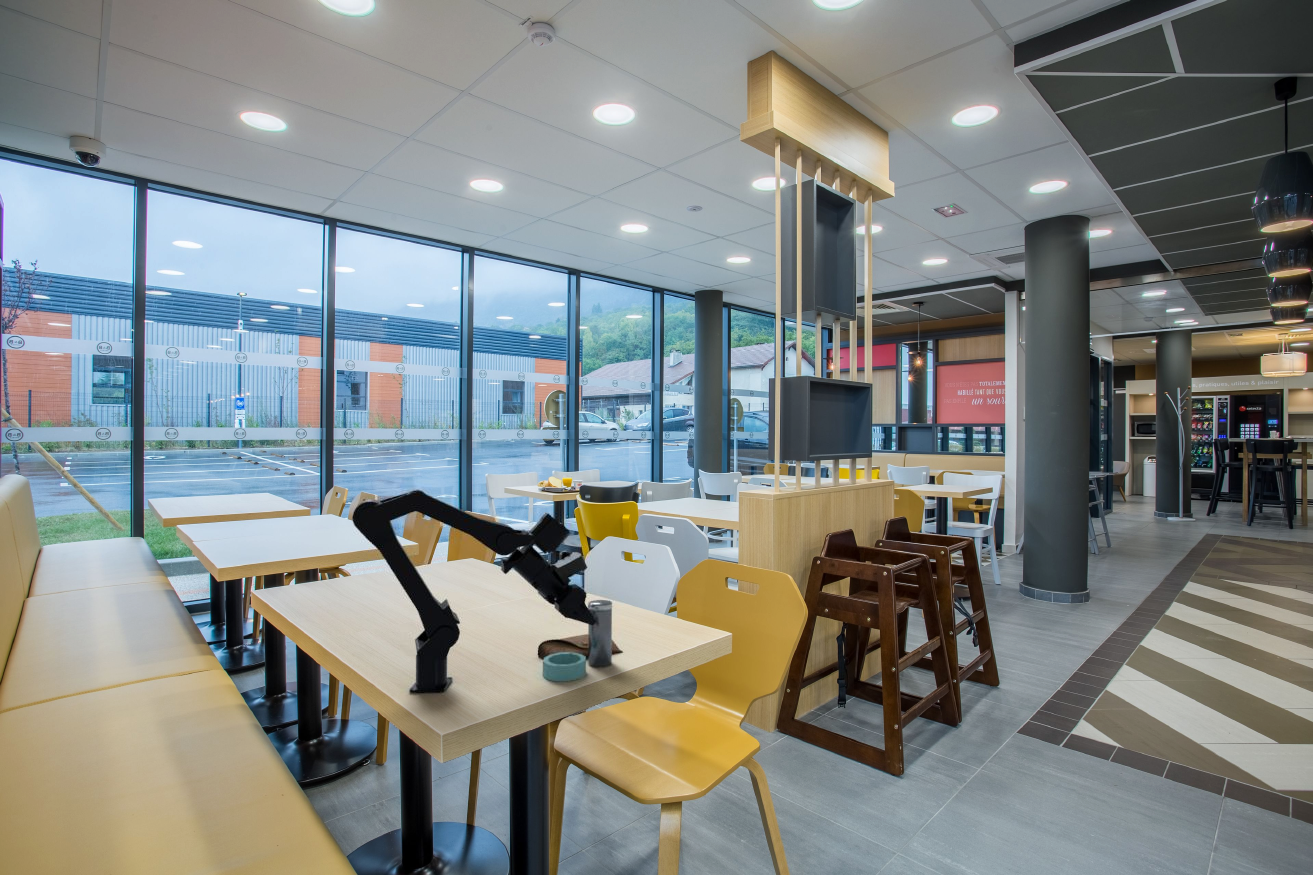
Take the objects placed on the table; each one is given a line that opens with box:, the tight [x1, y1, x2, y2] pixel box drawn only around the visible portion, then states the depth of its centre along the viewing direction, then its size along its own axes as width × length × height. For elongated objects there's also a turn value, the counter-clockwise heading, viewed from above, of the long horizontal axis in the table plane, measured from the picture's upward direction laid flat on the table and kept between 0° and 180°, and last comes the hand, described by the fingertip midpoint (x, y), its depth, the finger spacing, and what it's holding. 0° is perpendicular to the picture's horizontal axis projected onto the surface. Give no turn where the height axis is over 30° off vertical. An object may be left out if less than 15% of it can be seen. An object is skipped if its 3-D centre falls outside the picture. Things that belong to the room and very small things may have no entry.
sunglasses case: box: [537, 633, 623, 661], centre depth 143 cm, size 18×7×7 cm
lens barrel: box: [587, 599, 613, 668], centre depth 136 cm, size 5×5×13 cm
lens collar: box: [542, 652, 587, 682], centre depth 130 cm, size 9×9×3 cm
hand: (587, 617), depth 135 cm, fingers open, 9 cm apart
